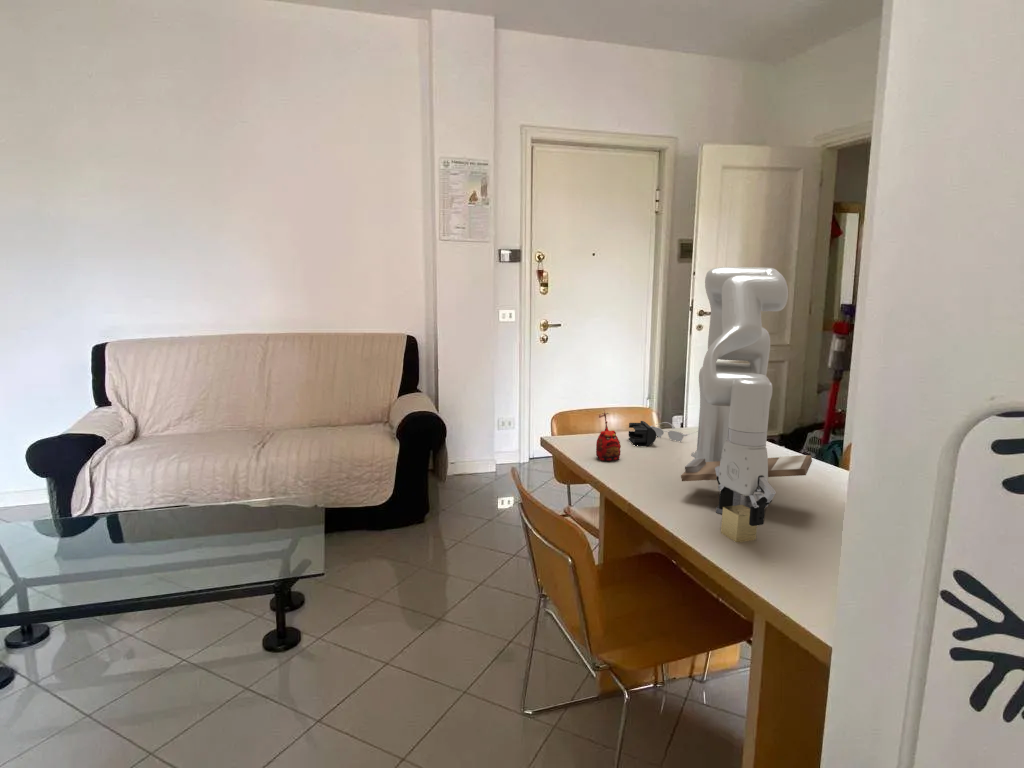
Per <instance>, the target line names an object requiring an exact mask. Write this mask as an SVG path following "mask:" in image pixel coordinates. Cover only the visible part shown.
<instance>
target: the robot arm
mask: <svg viewBox="0 0 1024 768" xmlns="http://www.w3.org/2000/svg"><path fill="white" fill-rule="evenodd" d="M704 279H705V280H704V287H705V293H706V295H707V299H708V301H709V302H708V303H709V306H710V316H709V326H708V337H707V351H706V354H705V355H704V358H703V363H702V366H701V368H700V370H699V371H698V384H699V385H698V386H699V387H698V388H699V416H698V427H697V428H698V429H697V431H698V432H697V441H696V442H697V444H696V450H695V452H694V451H692V452H691V453H690V457H692V458H694V459H705V462H715V461H720V466H717V467H715V471H716V476H717V478H716V479H717V480H716V481H717V484H718V486H717V487H718V488H717V489H718V491H719V497H718V505H719V509H723V507H726V506H733V495H734V491H735V492H737V493H739V494H741V495H744V496H749V497H750V499H751V502H752V504H753V506H751V508H750V518H749V525H751V526H757V527H758V526H763V525H764V524H765V514H766V508H768V507H769V505H770V504H771V503H772V502H773V499H774V497H775V495H776V490H775V488H774V487H773V486H772V485H771V484H770V483H769V481H768V479H769V477H768V458H769V457H768V448H767V438H768V427H769V416H770V407H771V406H770V405H771V399H772V397H773V383H772V382H771V381H770V379H769V377H768V376H767V373H768V366H769V360H770V359H769V358H770V353H771V352H770V351H771V336H770V333H769V331H768V330H767V329H766V328H765V327H763V325H762V324H763V322H762V312H780V311H782V310H784V308H785V307H786V305H787V303H788V299H789V288H788V284H787V280H786V279H785V277H784V275H783V274H782V273H781V272H779V271H778V270H777V269H776V268H773V267H759V266H758V267H753V266H752V267H751V266H750V267H749V266H748V267H747V266H746V267H745V266H719V267H713V268H711V269H709V270H708V271H707V272H706V275H705V278H704ZM718 360H724V361H739V362H737V363H736V362H719V361H718ZM740 361H741V362H748V363H740ZM756 496H759V500H758V501H757V498H756Z"/></svg>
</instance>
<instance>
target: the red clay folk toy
mask: <svg viewBox="0 0 1024 768" xmlns="http://www.w3.org/2000/svg"><path fill="white" fill-rule="evenodd" d="M603 412H604V413H602V414H599V415H598V418H603V417H604V422H605V423H604V424H605V428H604V430H602V431H600V433H599V435H598V436H597V440H596V449H595V450H596V451H595V453H596V454H595V455H596V458H597V459H598V460H600V461H601V462H605V461H606V462H607V461H608V462H610V461H612V462H616V461H619V460H620V457H621V456H620V455H621V451H622V450H621V447H622V446H621V441H620V440H619V438H618V435H617V432H616V431H615V430H609V428H608V420H607V414H609V413H608V412H607V413H606V410H605V409H603Z"/></svg>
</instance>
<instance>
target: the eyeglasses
mask: <svg viewBox="0 0 1024 768" xmlns="http://www.w3.org/2000/svg"><path fill="white" fill-rule="evenodd" d="M660 424H669V425H670V426H671V429H675V428H676V427H675V426H674V425H673V424H672V423H670V422H667V421H664V422H663V421H662V422H659V423H657V424H656V423H655V424H652V425H649V426H650V427H651V428H653V429H654V431H655V432H656V436H658V437H657V438H659V437H660V438H662V436H663V435H664V432H665V433H667V435H668V438H669V440H670V439H672V440H671V441H673V440H676V441H675V442H677V441H680V442H679V443H681V442H682V441H683V439H684V437H687V436H689V435H692V434H695V433H698V430H697V431H694V432H692V433H686V434H683V433H682V432H680V431H676V430H668V431H667V430H665V431H664V430H663V429H662V428H660V427H657V425H660Z"/></svg>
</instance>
